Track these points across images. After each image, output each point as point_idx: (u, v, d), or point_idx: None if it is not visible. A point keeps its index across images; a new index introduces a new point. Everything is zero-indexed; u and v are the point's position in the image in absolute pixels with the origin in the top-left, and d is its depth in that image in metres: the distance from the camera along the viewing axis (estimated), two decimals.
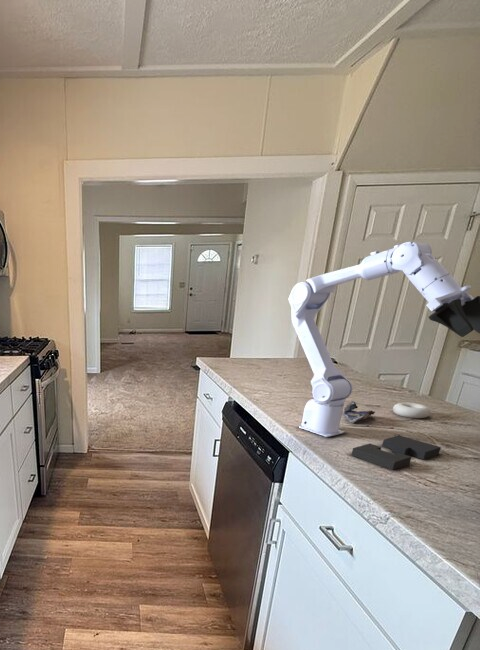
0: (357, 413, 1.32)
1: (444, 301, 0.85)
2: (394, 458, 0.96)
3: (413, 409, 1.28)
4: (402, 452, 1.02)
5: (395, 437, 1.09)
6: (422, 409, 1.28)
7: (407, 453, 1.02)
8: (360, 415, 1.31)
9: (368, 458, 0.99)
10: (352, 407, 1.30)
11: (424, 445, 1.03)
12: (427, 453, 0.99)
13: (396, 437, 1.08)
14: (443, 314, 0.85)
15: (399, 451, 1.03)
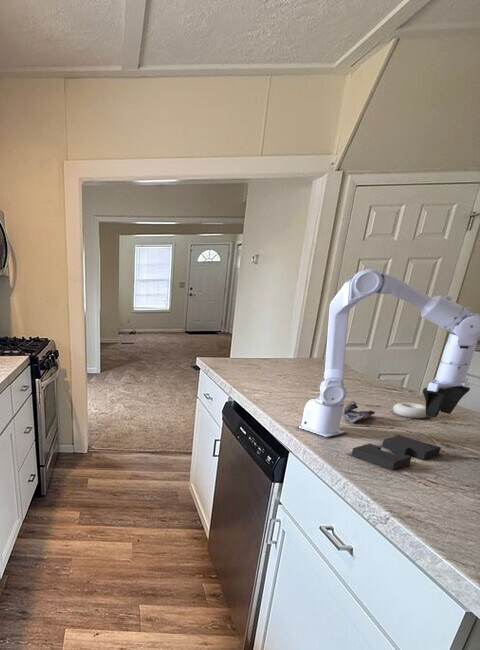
0: (357, 413, 1.32)
1: None
2: (394, 458, 0.96)
3: (413, 409, 1.28)
4: (402, 452, 1.02)
5: (395, 437, 1.09)
6: (422, 409, 1.28)
7: (407, 453, 1.02)
8: (360, 415, 1.31)
9: (368, 458, 0.99)
10: (352, 407, 1.30)
11: (424, 445, 1.03)
12: (427, 453, 0.99)
13: (396, 437, 1.08)
14: (433, 393, 1.02)
15: (399, 451, 1.03)
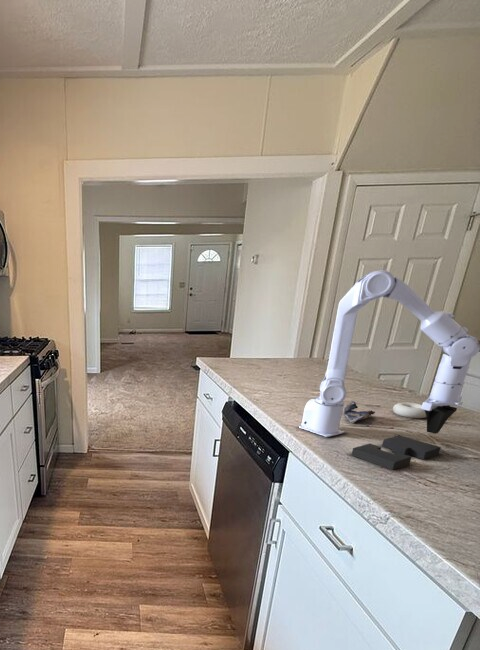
0: (357, 413, 1.32)
1: None
2: (394, 458, 0.96)
3: (413, 409, 1.28)
4: (402, 452, 1.02)
5: (395, 437, 1.09)
6: (422, 409, 1.28)
7: (407, 453, 1.02)
8: (360, 415, 1.31)
9: (368, 458, 0.99)
10: (352, 407, 1.30)
11: (424, 445, 1.03)
12: (427, 453, 0.99)
13: (396, 437, 1.08)
14: (434, 410, 1.06)
15: (399, 451, 1.03)
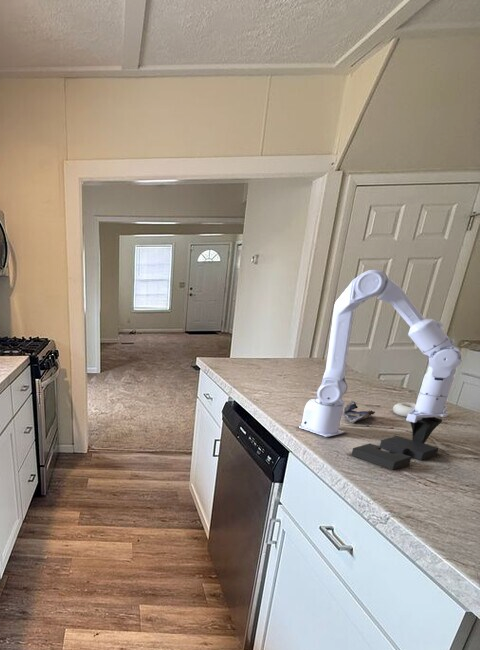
0: (357, 413, 1.32)
1: None
2: (394, 458, 0.96)
3: None
4: None
5: (393, 437, 1.08)
6: None
7: (405, 454, 1.02)
8: (360, 415, 1.31)
9: (368, 458, 0.99)
10: (352, 407, 1.30)
11: (421, 446, 1.02)
12: (424, 454, 0.99)
13: (394, 438, 1.08)
14: (419, 421, 1.04)
15: (397, 452, 1.02)
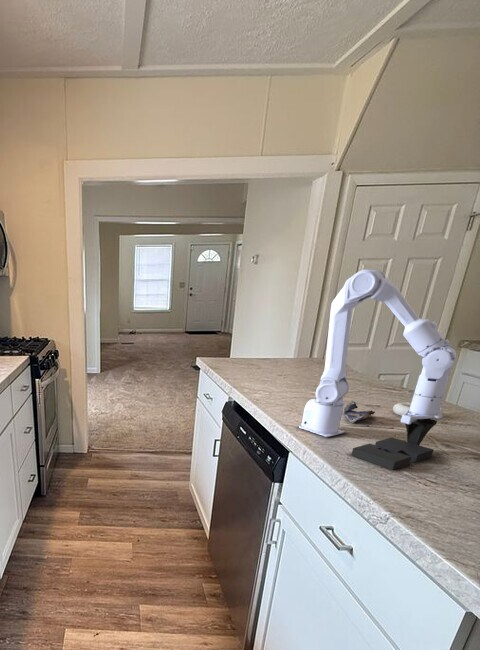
0: (357, 413, 1.32)
1: None
2: (394, 458, 0.96)
3: None
4: None
5: (388, 439, 1.07)
6: None
7: None
8: (360, 415, 1.31)
9: (368, 458, 0.99)
10: (352, 407, 1.30)
11: (416, 448, 1.01)
12: (419, 456, 0.98)
13: (388, 439, 1.07)
14: (414, 423, 1.03)
15: None
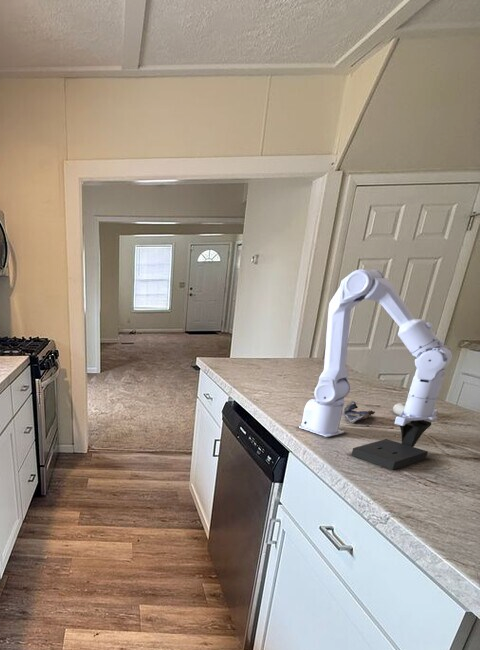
0: (357, 413, 1.32)
1: None
2: (394, 458, 0.96)
3: None
4: None
5: (382, 440, 1.06)
6: None
7: None
8: (360, 415, 1.31)
9: (368, 458, 0.99)
10: (352, 407, 1.30)
11: (410, 450, 1.00)
12: (413, 458, 0.97)
13: (383, 441, 1.06)
14: (408, 424, 1.02)
15: None
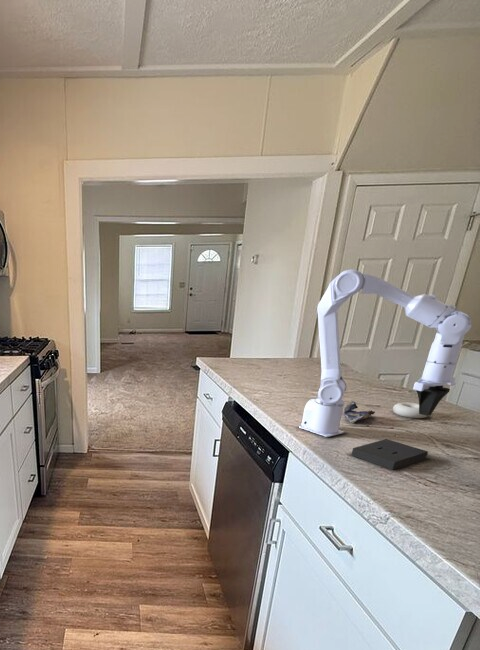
0: (357, 413, 1.32)
1: None
2: (394, 458, 0.96)
3: (413, 409, 1.28)
4: None
5: (382, 440, 1.06)
6: None
7: None
8: (360, 415, 1.31)
9: (368, 458, 0.99)
10: (352, 407, 1.30)
11: (410, 450, 1.00)
12: (413, 458, 0.97)
13: (383, 441, 1.06)
14: (426, 391, 1.02)
15: None
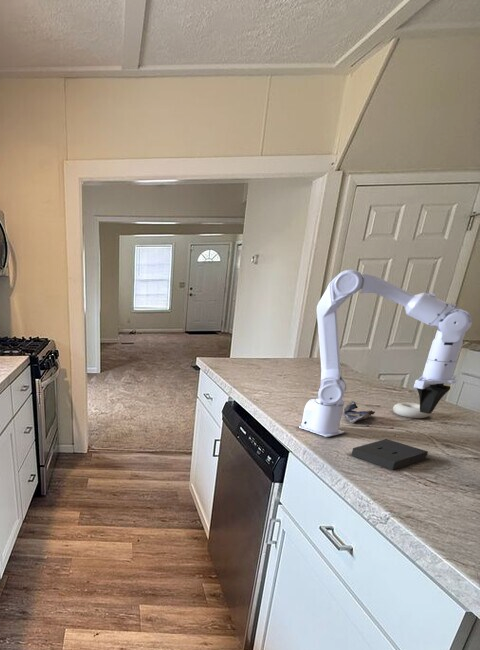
0: (357, 413, 1.32)
1: None
2: (394, 458, 0.96)
3: (413, 409, 1.28)
4: None
5: (382, 440, 1.06)
6: None
7: None
8: (360, 415, 1.31)
9: (368, 458, 0.99)
10: (352, 407, 1.30)
11: (410, 450, 1.00)
12: (413, 458, 0.97)
13: (383, 441, 1.06)
14: (427, 389, 1.02)
15: None
